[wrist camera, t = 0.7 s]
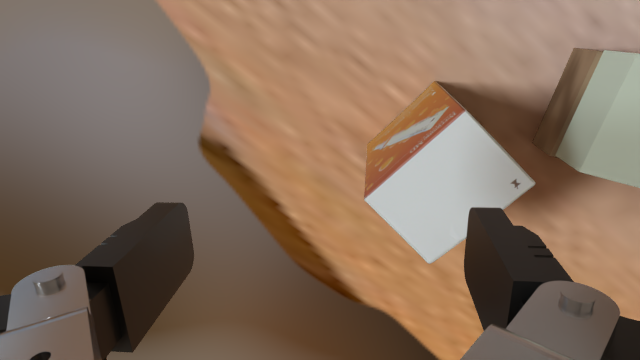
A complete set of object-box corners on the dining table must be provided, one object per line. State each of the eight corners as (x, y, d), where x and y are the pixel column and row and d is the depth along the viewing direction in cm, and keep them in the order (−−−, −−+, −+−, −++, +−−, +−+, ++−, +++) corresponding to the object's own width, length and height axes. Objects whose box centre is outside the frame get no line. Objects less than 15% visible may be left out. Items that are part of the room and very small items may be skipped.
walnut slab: (572, 47, 34) (597, 50, 30) (671, 73, 34) (709, 79, 30) (531, 142, 37) (549, 155, 33) (622, 166, 37) (651, 182, 33)
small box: (434, 78, 36) (467, 106, 24) (484, 131, 37) (540, 184, 25) (364, 144, 38) (361, 200, 26) (412, 192, 39) (431, 268, 27)
